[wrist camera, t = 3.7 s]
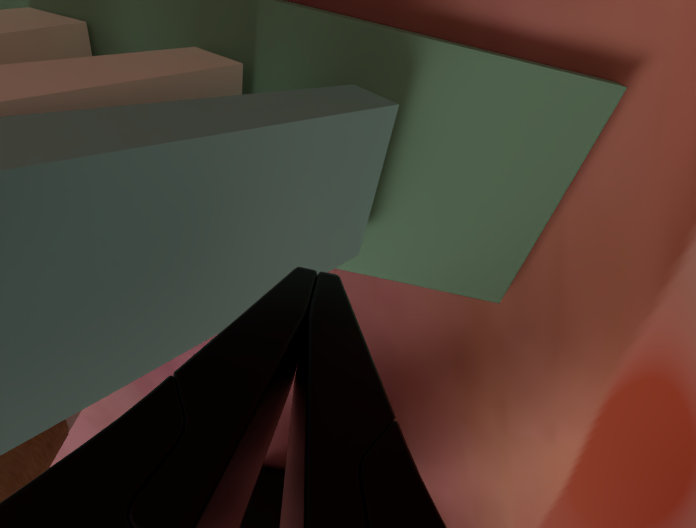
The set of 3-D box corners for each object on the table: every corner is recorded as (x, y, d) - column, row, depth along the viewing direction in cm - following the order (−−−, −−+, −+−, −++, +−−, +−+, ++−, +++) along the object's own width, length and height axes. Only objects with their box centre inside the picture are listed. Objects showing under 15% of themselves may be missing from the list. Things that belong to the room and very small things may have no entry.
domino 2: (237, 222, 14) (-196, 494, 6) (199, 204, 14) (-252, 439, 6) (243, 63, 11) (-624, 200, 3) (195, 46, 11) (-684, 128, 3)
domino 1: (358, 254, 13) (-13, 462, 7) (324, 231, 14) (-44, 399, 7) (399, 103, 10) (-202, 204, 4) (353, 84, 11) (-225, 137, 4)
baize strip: (495, 293, 16) (499, 303, 15) (-170, 149, 15) (-189, 155, 14) (617, 82, 11) (627, 87, 11) (-360, -159, 10) (-399, -165, 9)
